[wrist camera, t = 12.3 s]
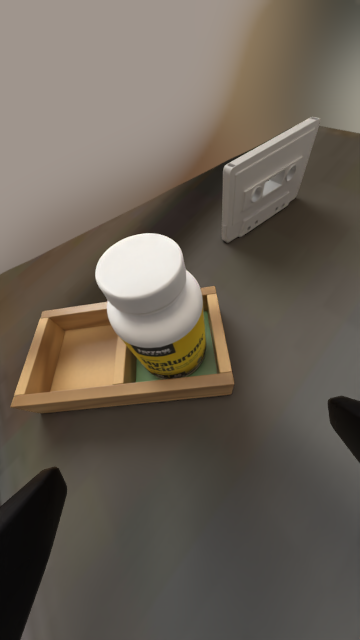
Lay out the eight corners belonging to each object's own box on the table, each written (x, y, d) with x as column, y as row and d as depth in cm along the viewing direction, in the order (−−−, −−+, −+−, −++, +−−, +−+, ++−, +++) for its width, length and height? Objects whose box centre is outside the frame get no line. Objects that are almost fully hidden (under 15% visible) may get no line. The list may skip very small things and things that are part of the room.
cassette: (229, 246, 24) (234, 171, 17) (218, 238, 25) (218, 165, 18) (300, 198, 27) (327, 117, 20) (287, 193, 27) (309, 114, 21)
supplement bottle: (152, 393, 16) (83, 333, 8) (136, 335, 19) (73, 245, 11) (218, 366, 16) (220, 280, 8) (192, 313, 19) (173, 209, 11)
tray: (231, 394, 16) (234, 384, 13) (40, 413, 17) (9, 407, 15) (215, 306, 20) (215, 285, 18) (63, 327, 21) (42, 310, 19)
